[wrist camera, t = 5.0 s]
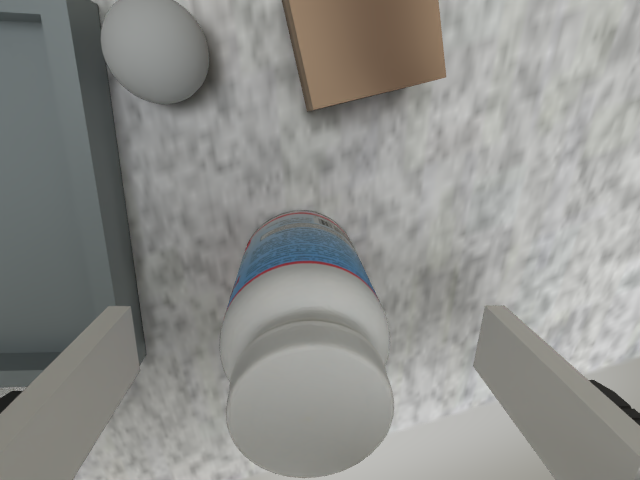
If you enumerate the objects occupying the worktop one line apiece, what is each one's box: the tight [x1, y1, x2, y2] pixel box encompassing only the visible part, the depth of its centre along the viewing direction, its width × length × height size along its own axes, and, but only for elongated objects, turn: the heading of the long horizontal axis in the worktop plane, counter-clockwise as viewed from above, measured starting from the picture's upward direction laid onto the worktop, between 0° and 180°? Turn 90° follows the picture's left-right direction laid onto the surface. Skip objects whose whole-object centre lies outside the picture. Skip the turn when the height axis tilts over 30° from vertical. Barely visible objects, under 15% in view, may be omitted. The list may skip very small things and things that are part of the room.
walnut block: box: [282, 0, 446, 112], centre depth 15 cm, size 5×5×5 cm
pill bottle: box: [220, 211, 394, 478], centre depth 15 cm, size 6×6×11 cm
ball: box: [101, 0, 209, 104], centre depth 15 cm, size 4×4×4 cm
